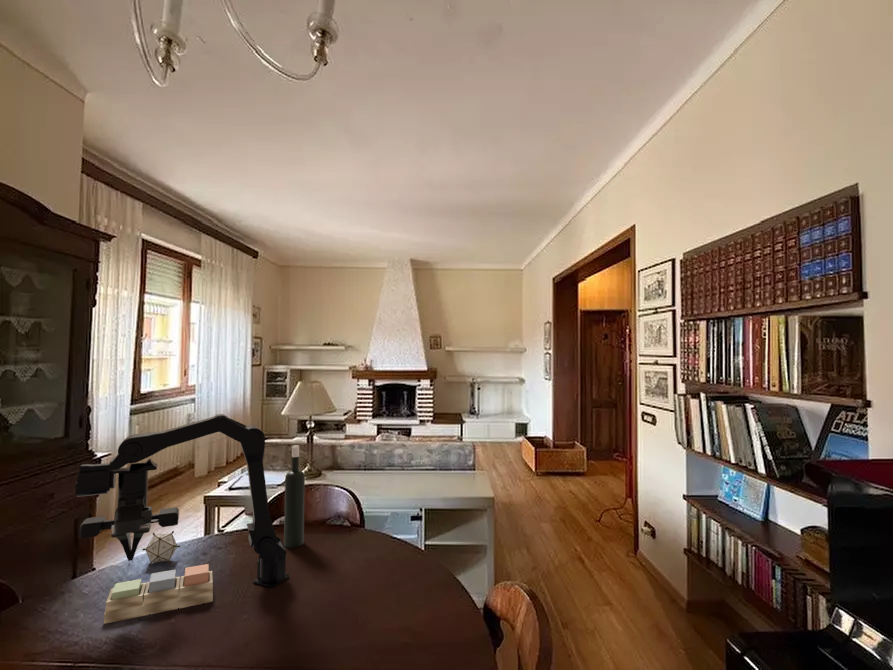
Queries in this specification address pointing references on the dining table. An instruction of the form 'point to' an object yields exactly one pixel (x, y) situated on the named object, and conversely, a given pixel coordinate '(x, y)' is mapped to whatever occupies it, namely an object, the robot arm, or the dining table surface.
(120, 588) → the sage button
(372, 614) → the dining table surface
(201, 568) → the terracotta button
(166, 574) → the slate button
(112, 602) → the console
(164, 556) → the game die
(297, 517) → the wine bottle
